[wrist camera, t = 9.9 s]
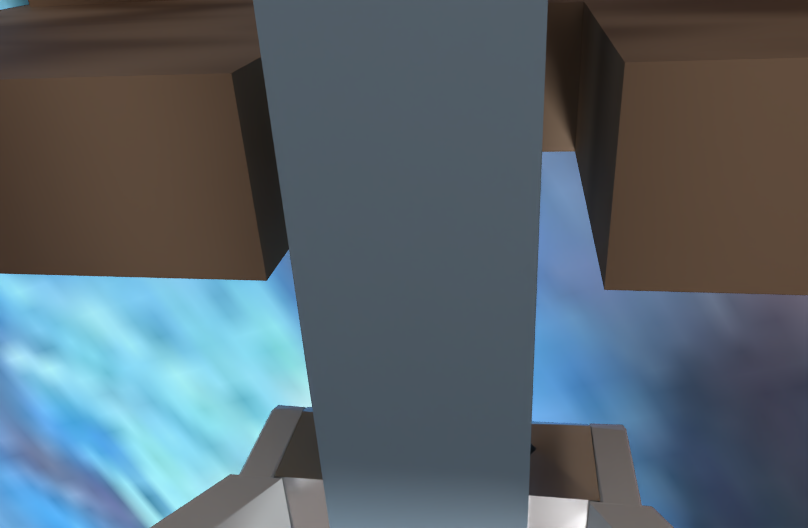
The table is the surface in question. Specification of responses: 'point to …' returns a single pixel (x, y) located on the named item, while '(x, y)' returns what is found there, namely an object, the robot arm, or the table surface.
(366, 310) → the blue-gray flat plate
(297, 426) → the robot arm
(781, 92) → the walnut slotted board
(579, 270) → the table surface
